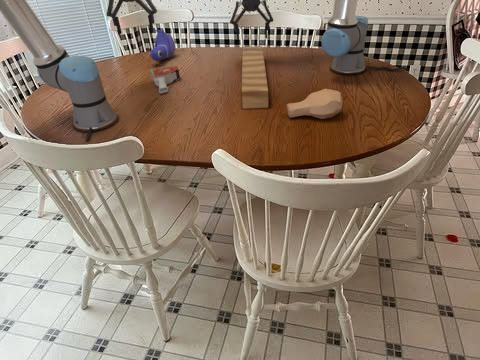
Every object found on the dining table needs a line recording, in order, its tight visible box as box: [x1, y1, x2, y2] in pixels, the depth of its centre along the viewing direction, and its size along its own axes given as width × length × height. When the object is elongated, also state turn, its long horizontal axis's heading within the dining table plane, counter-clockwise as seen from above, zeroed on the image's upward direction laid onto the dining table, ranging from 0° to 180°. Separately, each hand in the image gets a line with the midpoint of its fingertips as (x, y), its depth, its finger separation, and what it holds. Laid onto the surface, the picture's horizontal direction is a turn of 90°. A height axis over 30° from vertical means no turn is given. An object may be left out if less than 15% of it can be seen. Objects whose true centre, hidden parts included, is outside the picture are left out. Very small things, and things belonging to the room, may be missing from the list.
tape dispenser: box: [149, 65, 181, 94], centre depth 160 cm, size 18×5×20 cm
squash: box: [285, 88, 344, 120], centre depth 126 cm, size 11×20×9 cm, turn 92°
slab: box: [241, 45, 269, 110], centre depth 158 cm, size 58×10×7 cm, turn 179°
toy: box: [148, 28, 176, 66], centre depth 186 cm, size 10×17×25 cm
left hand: (136, 33), depth 149 cm, fingers open, 13 cm apart
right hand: (252, 38), depth 171 cm, fingers open, 13 cm apart
